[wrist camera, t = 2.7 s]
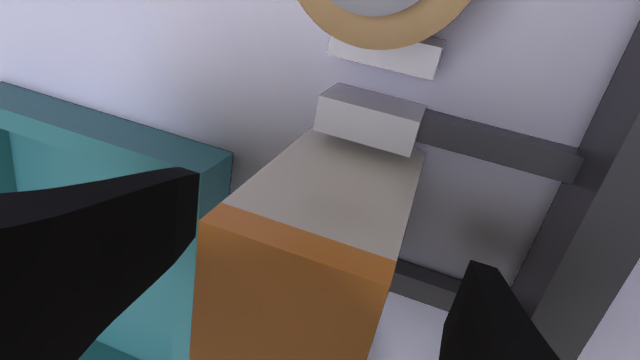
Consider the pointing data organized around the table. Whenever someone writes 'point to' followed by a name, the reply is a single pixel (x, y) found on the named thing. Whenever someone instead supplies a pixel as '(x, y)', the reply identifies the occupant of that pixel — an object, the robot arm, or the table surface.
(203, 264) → the block
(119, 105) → the table surface
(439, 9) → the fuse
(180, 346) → the tray
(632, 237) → the holder block
